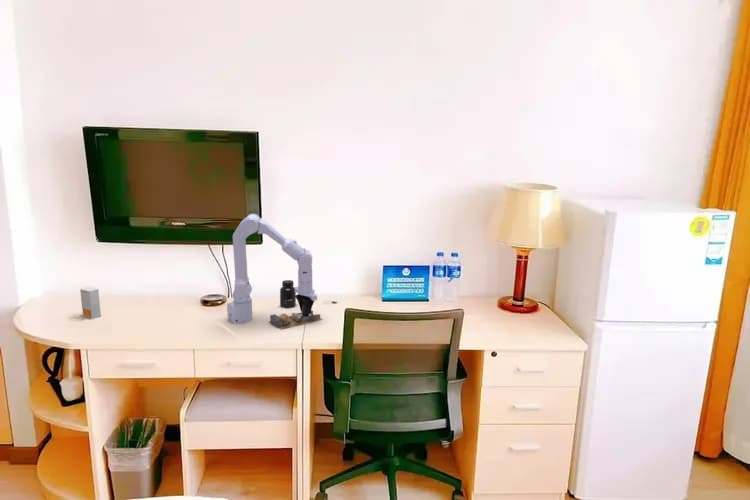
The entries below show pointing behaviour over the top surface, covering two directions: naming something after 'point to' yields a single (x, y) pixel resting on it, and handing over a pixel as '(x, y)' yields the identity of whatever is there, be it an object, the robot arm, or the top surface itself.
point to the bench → (293, 321)
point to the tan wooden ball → (284, 318)
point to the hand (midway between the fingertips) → (305, 312)
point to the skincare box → (90, 302)
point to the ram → (300, 315)
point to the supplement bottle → (287, 294)
